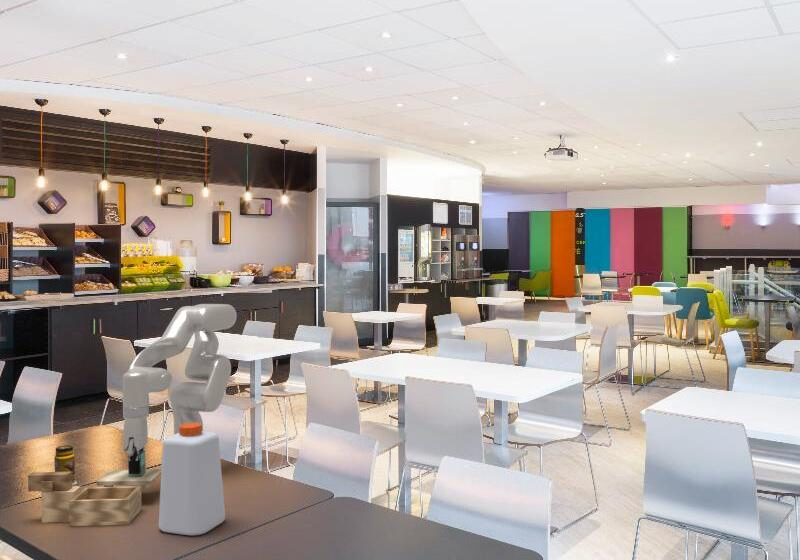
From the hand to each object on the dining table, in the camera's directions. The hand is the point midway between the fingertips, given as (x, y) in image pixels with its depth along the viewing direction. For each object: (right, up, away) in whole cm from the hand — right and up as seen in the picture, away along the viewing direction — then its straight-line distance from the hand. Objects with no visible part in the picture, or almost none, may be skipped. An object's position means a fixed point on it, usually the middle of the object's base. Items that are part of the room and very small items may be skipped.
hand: (137, 470), depth 226 cm
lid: (-2, -4, 0) cm, 5 cm away
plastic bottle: (+23, -10, -22) cm, 34 cm away
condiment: (-31, -9, +17) cm, 36 cm away
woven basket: (-8, -9, -16) cm, 20 cm away
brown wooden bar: (-19, -1, -17) cm, 25 cm away
